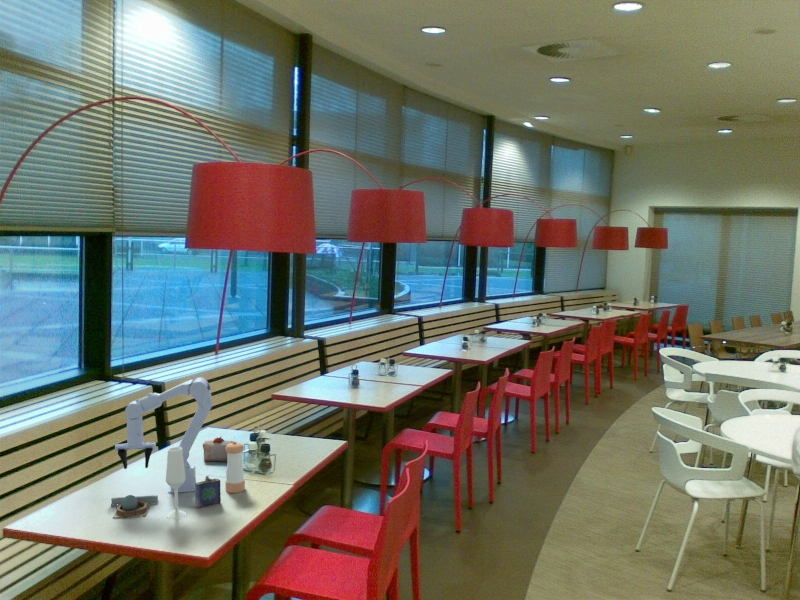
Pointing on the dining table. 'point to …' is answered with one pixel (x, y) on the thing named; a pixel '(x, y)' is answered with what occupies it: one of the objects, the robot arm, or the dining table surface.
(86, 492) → the dining table surface
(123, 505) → the ball
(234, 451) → the pepper shaker
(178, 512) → the champagne flute
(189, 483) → the robot arm
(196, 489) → the flask
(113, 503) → the grey bar
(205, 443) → the food item
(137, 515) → the ring cradle
